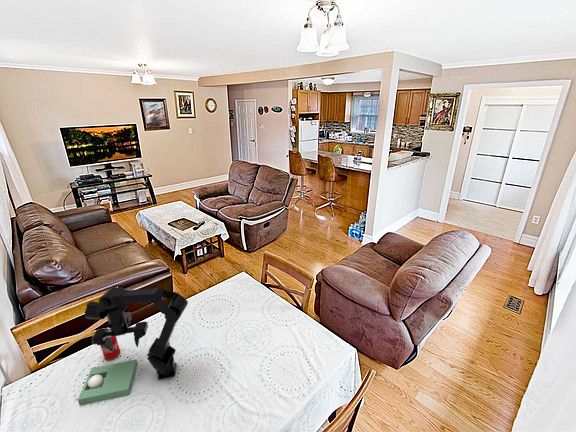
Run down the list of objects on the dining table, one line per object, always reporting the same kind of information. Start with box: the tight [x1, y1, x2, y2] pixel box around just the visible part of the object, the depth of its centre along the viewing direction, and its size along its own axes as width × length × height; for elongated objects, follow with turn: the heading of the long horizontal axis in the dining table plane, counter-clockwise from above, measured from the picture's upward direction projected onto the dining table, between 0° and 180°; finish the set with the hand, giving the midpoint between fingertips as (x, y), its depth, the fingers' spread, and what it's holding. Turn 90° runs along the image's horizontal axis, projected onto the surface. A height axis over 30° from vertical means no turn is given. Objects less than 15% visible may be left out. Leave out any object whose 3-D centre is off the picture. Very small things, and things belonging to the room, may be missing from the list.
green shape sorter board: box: [77, 359, 139, 406], centre depth 114 cm, size 17×14×3 cm
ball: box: [88, 375, 104, 389], centre depth 112 cm, size 5×5×5 cm
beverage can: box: [99, 329, 121, 361], centre depth 124 cm, size 6×6×12 cm
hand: (125, 348), depth 116 cm, fingers open, 9 cm apart
